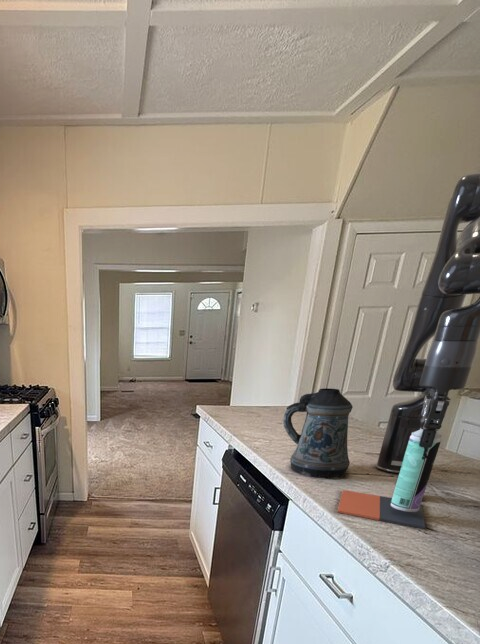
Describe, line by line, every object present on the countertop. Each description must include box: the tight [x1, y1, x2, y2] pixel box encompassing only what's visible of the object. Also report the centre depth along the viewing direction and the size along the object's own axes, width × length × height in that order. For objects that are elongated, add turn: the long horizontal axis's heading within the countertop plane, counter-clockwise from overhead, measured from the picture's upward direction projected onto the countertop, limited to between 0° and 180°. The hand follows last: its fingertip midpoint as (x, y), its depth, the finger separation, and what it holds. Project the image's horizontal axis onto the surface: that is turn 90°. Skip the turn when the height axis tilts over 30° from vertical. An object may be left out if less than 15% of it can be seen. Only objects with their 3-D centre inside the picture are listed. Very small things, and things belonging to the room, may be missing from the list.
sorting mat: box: [337, 489, 426, 530], centre depth 99 cm, size 16×17×1 cm
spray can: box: [390, 427, 443, 512], centre depth 91 cm, size 6×6×20 cm
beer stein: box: [282, 387, 354, 479], centre depth 122 cm, size 16×19×25 cm
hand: (423, 443), depth 89 cm, fingers closed on spray can, 5 cm apart
